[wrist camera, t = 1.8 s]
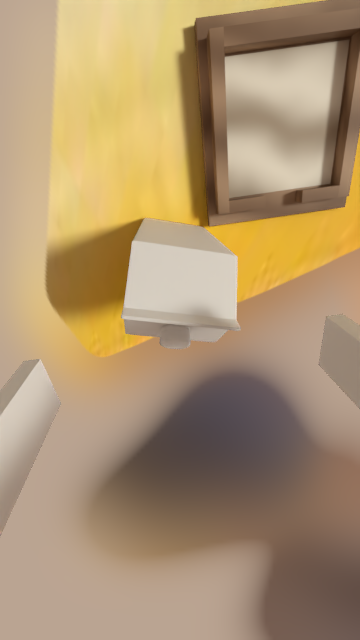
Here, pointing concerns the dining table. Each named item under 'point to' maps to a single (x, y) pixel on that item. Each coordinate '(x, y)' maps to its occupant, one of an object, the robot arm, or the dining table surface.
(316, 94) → the brown picture frame
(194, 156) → the dining table surface
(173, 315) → the milk carton
